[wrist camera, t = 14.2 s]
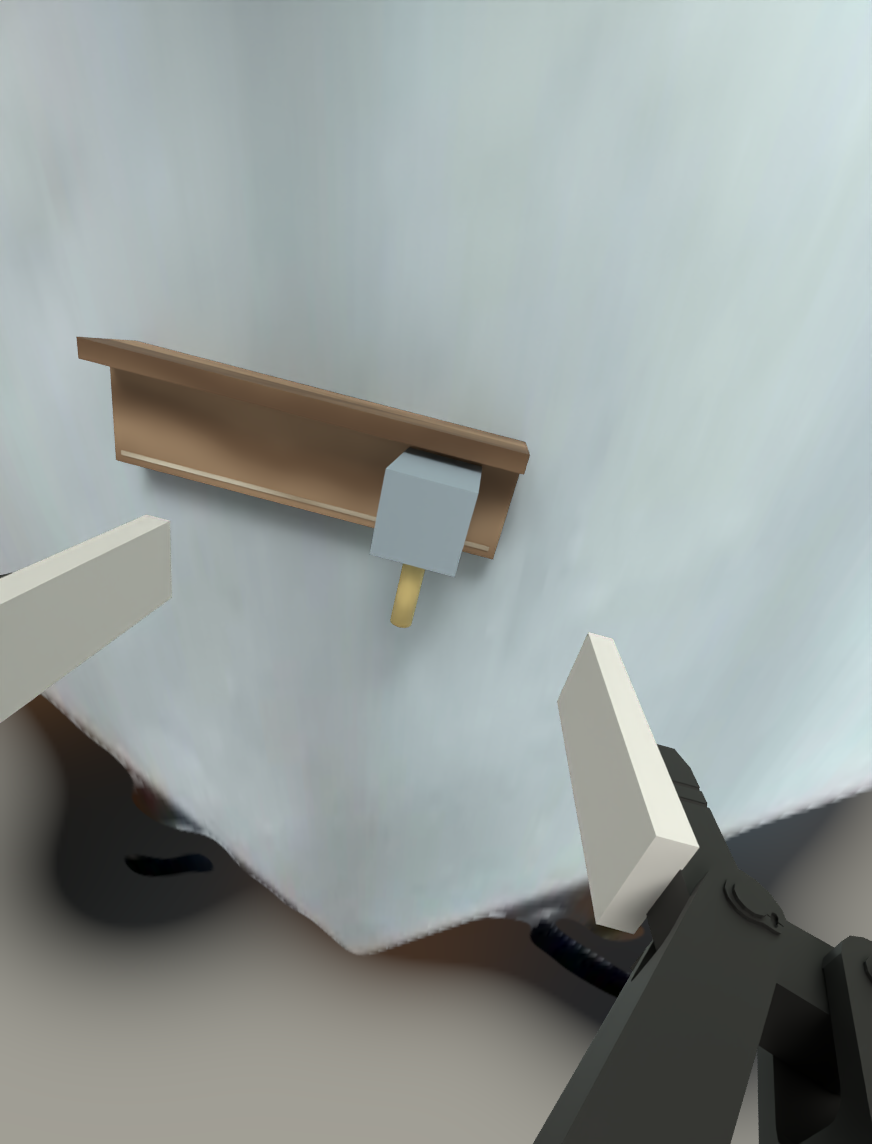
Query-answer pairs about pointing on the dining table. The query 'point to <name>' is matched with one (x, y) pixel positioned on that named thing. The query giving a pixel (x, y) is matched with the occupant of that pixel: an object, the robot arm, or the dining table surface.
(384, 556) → the grey cube mallet
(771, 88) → the dining table surface
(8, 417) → the dining table surface
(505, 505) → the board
